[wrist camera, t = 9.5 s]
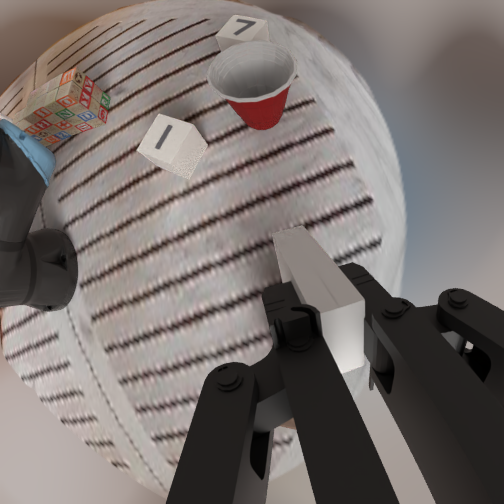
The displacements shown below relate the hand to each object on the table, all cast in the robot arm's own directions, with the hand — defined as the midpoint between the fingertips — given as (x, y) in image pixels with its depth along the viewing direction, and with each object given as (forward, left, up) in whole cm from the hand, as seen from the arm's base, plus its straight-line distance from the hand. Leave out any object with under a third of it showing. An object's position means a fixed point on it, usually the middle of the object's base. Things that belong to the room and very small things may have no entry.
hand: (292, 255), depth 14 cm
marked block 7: (-22, +29, -25) cm, 44 cm away
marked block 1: (-22, +7, -25) cm, 34 cm away
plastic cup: (-14, +18, -25) cm, 34 cm away
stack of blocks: (-51, +5, -25) cm, 57 cm away
